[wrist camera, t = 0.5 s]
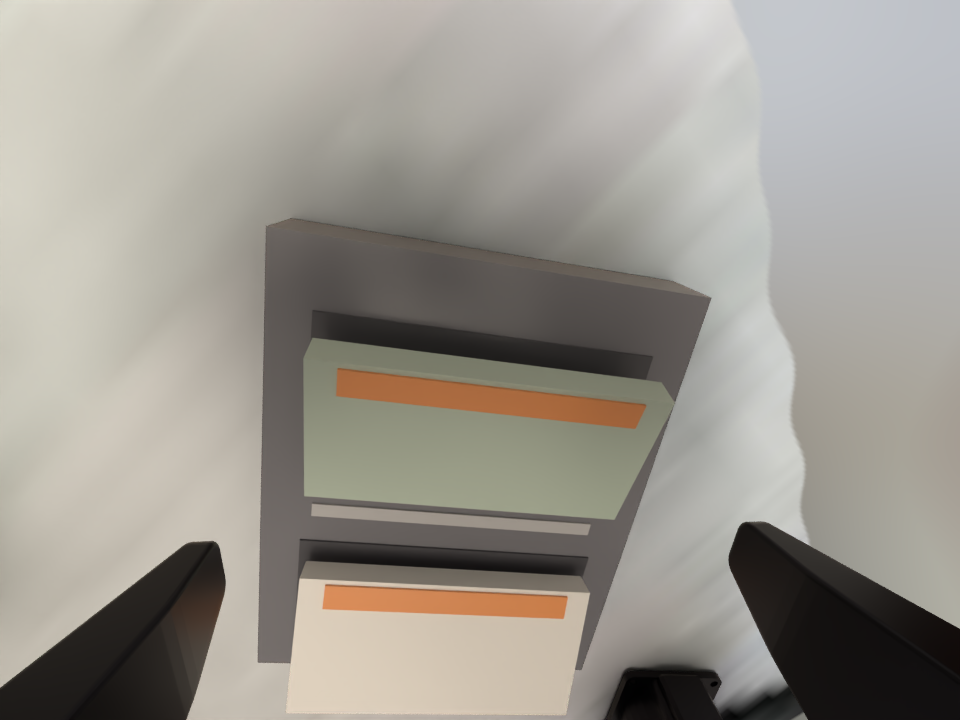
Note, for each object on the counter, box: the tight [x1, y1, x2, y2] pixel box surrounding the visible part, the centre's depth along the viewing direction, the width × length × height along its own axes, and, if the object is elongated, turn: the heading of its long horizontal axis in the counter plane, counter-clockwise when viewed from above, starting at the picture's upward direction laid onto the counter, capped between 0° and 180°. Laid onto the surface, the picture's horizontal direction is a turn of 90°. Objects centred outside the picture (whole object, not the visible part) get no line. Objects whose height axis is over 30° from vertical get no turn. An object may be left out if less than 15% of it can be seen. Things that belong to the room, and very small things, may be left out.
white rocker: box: [286, 561, 590, 715], centre depth 21 cm, size 6×12×2 cm, turn 80°
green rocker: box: [303, 338, 675, 520], centre depth 17 cm, size 6×12×2 cm, turn 80°
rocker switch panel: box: [258, 218, 711, 670], centre depth 21 cm, size 20×16×3 cm
